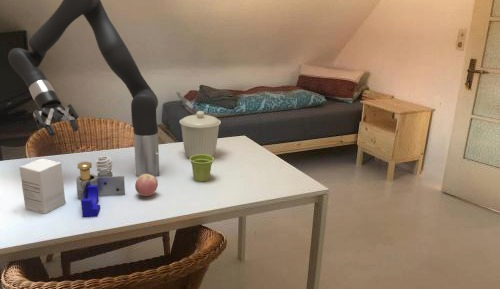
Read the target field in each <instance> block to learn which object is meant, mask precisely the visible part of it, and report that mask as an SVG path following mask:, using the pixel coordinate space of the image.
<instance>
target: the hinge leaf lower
mask: <svg viewBox="0 0 500 289" xmlns="http://www.w3.org/2000/svg"><path fill="white" fill-rule="evenodd" d="M76 192H77V193H76V194H77V199H78V200H80V201H81V200H82V199H87V198H88V189H87V182H86V181H85V182H84V184H83V187H82V190H81V191H80V190H77V189H76ZM98 197H99V198H100V196H99V195H98ZM80 205H81V204H80ZM81 207H82V205H81Z"/></svg>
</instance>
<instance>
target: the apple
mask: <svg viewBox="0 0 500 289" xmlns="http://www.w3.org/2000/svg"><path fill="white" fill-rule="evenodd" d="M158 186H159V181H158V179H157V176H153V175H150V174H142V175H140V176H137V178H136V180H135V183H134V188H135V190H136V192H137V194H139V195H141V196H144V197H150V196H152V195H153V194H154V193H155V192H156V191H157V189H158Z"/></svg>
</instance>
